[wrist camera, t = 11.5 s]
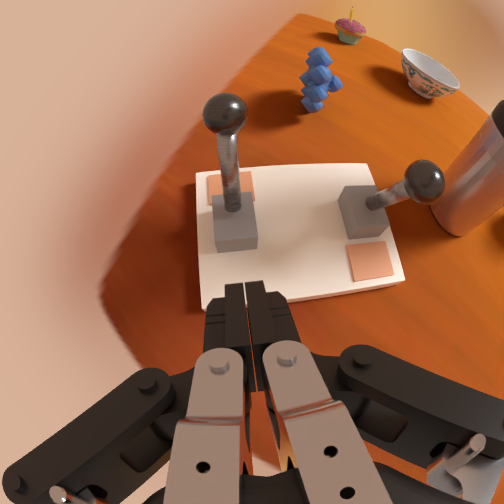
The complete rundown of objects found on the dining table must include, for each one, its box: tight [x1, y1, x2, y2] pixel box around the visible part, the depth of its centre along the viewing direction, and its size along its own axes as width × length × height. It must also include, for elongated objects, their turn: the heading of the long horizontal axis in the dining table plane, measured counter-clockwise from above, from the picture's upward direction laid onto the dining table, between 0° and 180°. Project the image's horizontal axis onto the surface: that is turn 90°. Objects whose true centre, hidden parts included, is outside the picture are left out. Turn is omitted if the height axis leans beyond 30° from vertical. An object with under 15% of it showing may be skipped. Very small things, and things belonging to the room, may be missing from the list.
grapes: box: [299, 47, 343, 113], centre depth 33 cm, size 12×7×12 cm, turn 172°
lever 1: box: [203, 93, 248, 212], centre depth 21 cm, size 3×3×11 cm
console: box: [196, 163, 405, 312], centre depth 29 cm, size 16×22×5 cm
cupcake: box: [335, 7, 366, 45], centre depth 46 cm, size 9×8×12 cm
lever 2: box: [365, 160, 445, 211], centre depth 20 cm, size 3×3×11 cm
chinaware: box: [401, 48, 460, 99], centre depth 42 cm, size 15×15×8 cm
